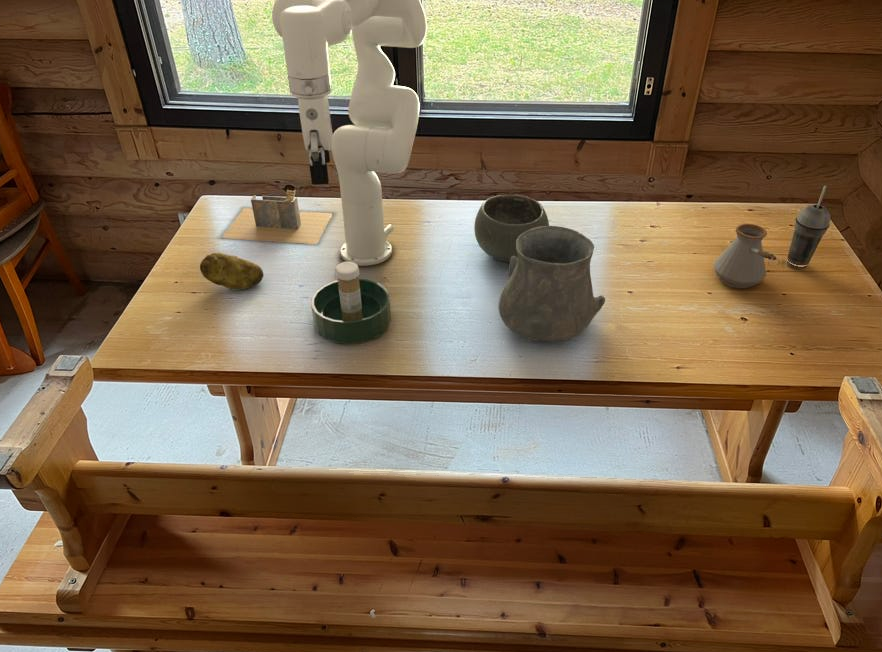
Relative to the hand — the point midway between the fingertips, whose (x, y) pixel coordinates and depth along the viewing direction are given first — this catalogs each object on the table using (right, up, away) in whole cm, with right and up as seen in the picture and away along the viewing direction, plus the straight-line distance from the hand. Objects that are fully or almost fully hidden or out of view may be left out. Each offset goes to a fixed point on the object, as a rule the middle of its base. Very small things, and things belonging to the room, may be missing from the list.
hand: (321, 172), depth 135 cm
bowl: (+40, -11, +35) cm, 54 cm away
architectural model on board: (-20, -1, +46) cm, 50 cm away
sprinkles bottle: (+4, -28, +13) cm, 31 cm away
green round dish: (+4, -29, +13) cm, 32 cm away
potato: (-24, -20, +24) cm, 39 cm away
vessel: (+47, -29, +12) cm, 56 cm away
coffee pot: (+92, -21, +22) cm, 97 cm away
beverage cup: (+109, -14, +31) cm, 114 cm away
